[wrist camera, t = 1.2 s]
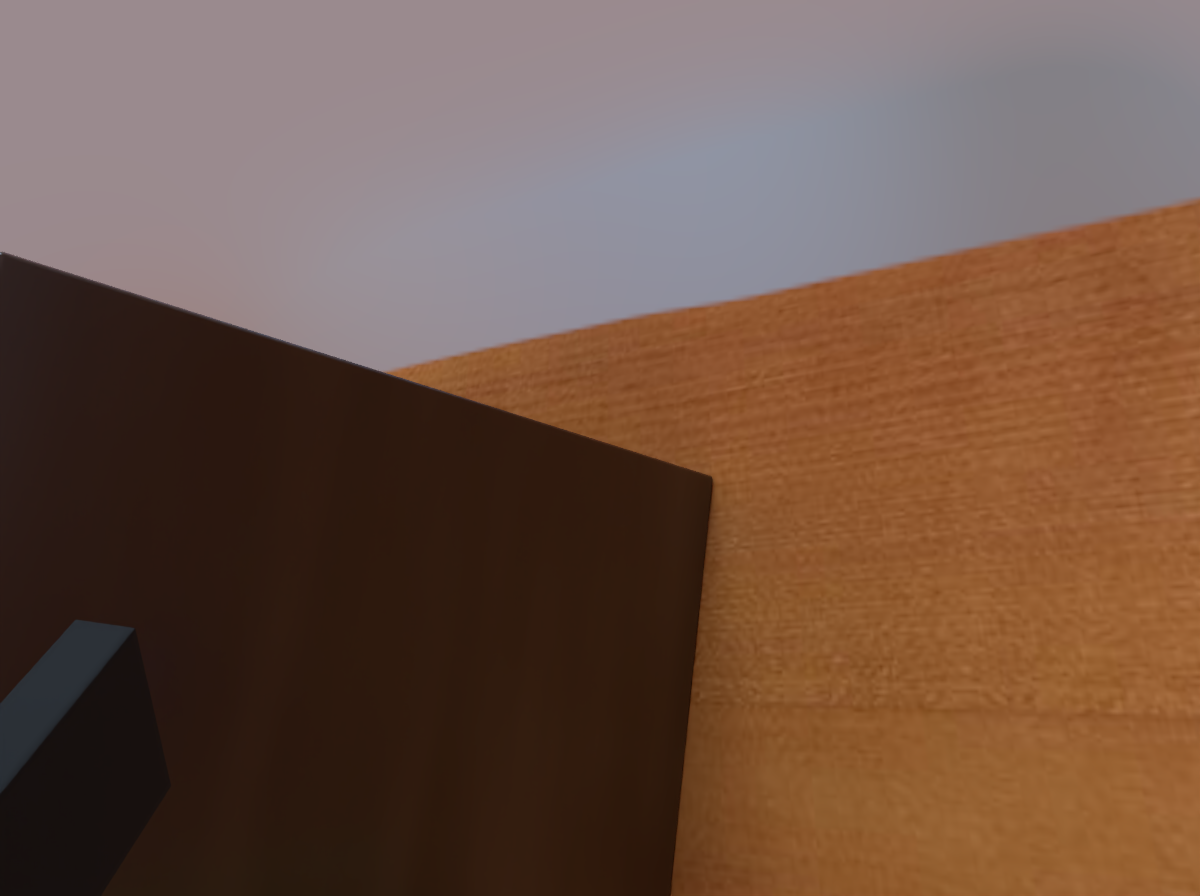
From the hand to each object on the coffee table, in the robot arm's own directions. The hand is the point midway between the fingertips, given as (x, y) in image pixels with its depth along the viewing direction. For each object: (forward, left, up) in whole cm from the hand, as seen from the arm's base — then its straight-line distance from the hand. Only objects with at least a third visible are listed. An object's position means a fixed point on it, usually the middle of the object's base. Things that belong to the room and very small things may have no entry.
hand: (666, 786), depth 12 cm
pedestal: (+19, +2, -20) cm, 28 cm away
